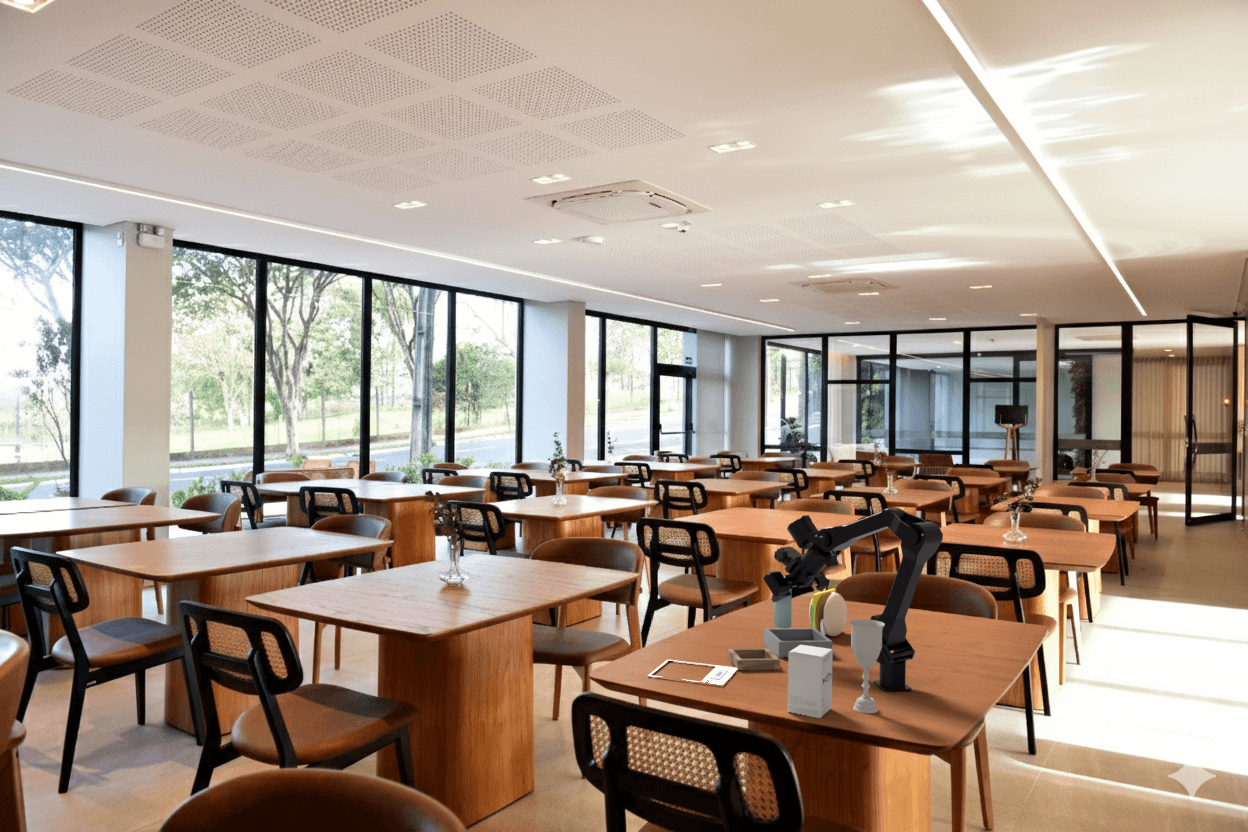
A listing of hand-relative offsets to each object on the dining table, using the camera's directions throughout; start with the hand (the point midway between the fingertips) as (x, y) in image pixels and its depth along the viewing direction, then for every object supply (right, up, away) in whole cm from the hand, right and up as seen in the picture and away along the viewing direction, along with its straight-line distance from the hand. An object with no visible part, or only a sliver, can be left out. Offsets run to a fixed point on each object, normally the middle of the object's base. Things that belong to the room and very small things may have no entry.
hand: (779, 599), depth 225 cm
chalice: (+10, -14, -44) cm, 47 cm away
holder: (-9, -13, -12) cm, 20 cm away
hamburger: (+17, -14, +18) cm, 29 cm away
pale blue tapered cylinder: (+1, -7, -1) cm, 7 cm away
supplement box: (-2, -14, -45) cm, 47 cm away
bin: (+5, -14, +2) cm, 15 cm away
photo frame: (-24, -14, -20) cm, 34 cm away
